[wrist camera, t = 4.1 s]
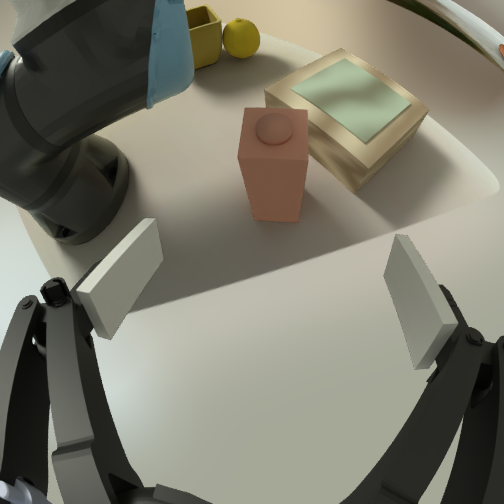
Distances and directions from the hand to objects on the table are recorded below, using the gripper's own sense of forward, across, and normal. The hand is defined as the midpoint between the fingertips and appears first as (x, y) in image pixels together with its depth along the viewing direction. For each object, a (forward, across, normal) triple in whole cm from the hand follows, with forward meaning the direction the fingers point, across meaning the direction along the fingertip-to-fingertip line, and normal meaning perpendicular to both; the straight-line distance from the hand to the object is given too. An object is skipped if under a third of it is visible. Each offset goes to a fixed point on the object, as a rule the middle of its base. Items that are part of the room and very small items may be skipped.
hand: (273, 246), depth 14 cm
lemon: (+33, -7, +15) cm, 37 cm away
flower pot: (+33, -14, +15) cm, 39 cm away
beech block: (+23, +8, +5) cm, 25 cm away
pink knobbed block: (+15, 0, -3) cm, 15 cm away
